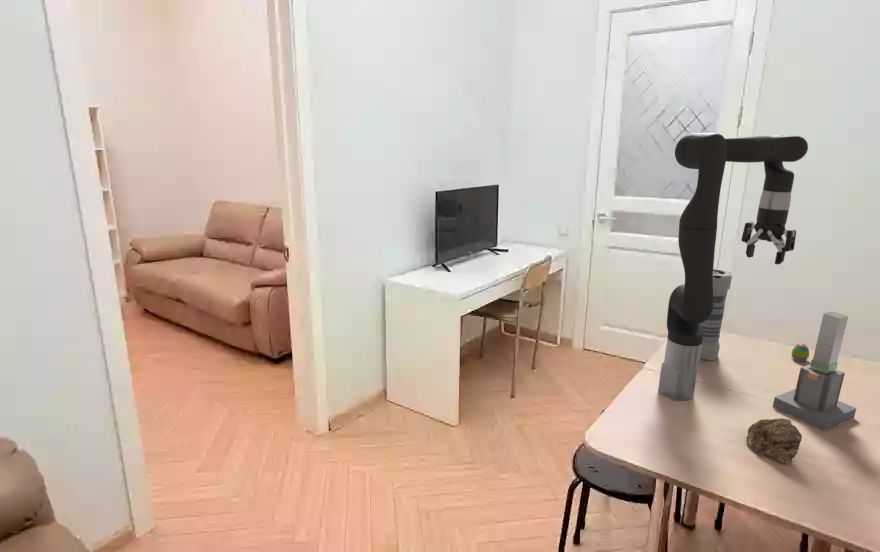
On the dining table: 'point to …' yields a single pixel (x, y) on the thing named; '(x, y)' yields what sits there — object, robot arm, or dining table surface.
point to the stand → (816, 399)
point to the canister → (715, 315)
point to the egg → (800, 352)
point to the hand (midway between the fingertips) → (763, 260)
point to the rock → (774, 439)
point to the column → (829, 343)
